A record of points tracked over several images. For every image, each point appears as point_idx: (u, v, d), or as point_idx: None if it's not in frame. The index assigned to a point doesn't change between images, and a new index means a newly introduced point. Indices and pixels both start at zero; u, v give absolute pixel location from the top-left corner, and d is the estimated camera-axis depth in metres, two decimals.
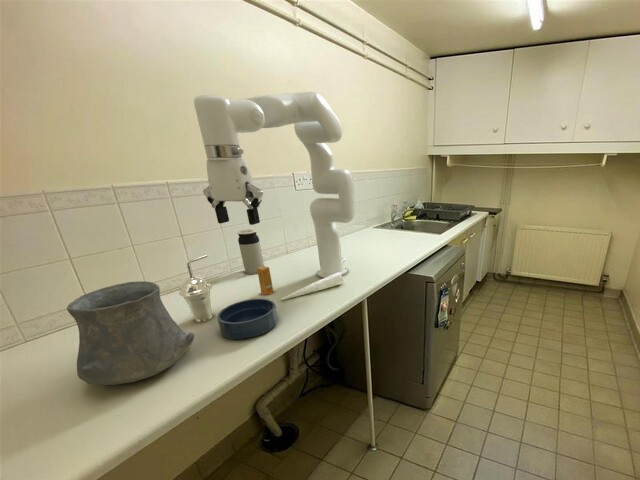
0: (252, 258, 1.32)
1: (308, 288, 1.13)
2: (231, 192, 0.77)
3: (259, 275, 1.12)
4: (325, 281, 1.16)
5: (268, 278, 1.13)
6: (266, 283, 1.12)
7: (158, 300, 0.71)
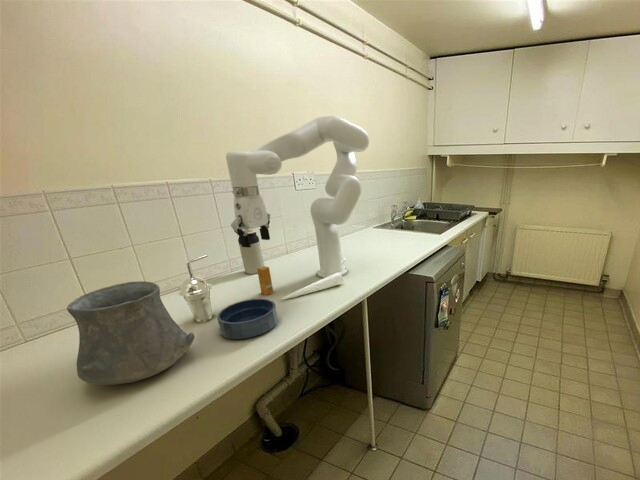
0: (252, 258, 1.32)
1: (308, 288, 1.13)
2: None
3: (259, 275, 1.12)
4: (325, 281, 1.16)
5: (268, 278, 1.13)
6: (266, 283, 1.12)
7: (158, 300, 0.71)
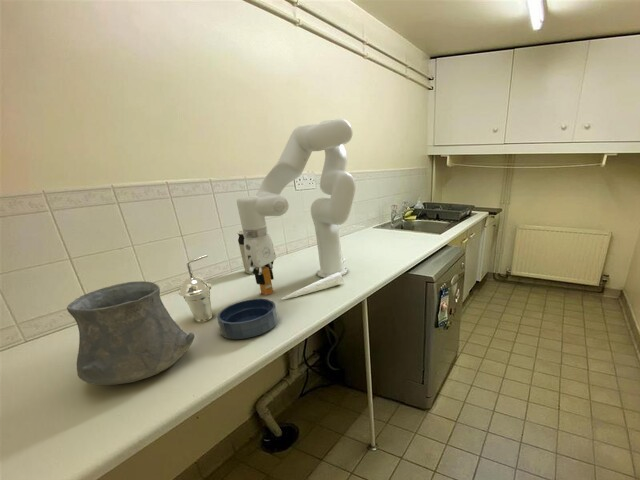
0: None
1: (308, 288, 1.13)
2: None
3: None
4: (325, 281, 1.16)
5: (268, 278, 1.13)
6: (265, 283, 1.12)
7: (158, 300, 0.71)
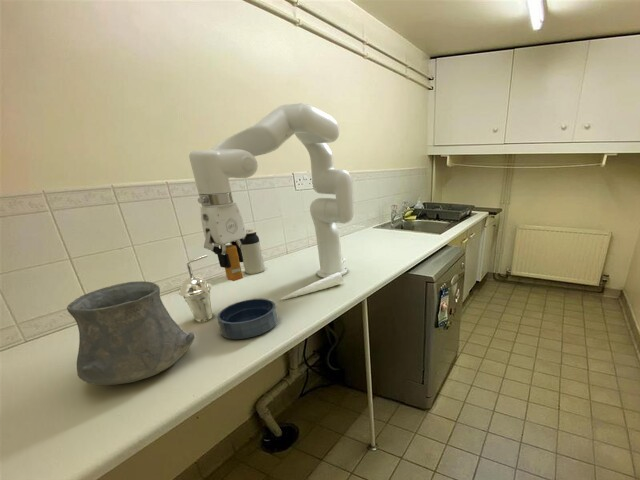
0: (252, 258, 1.32)
1: (308, 288, 1.13)
2: None
3: None
4: (325, 281, 1.17)
5: (235, 260, 0.88)
6: (232, 266, 0.88)
7: (158, 300, 0.71)
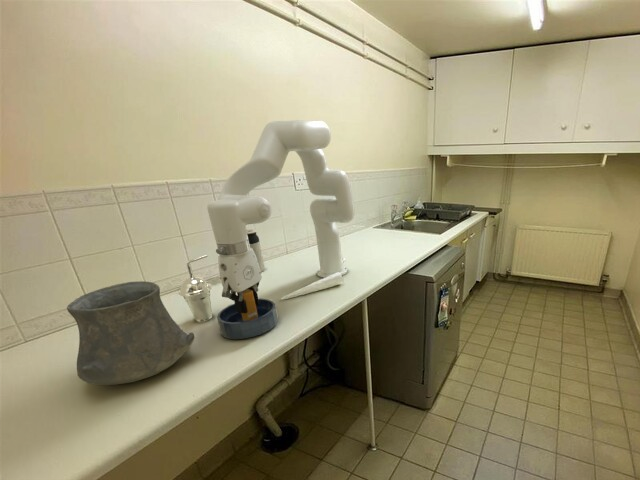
0: None
1: (308, 288, 1.13)
2: None
3: None
4: (325, 281, 1.17)
5: (251, 304, 0.88)
6: (248, 311, 0.88)
7: (158, 300, 0.71)
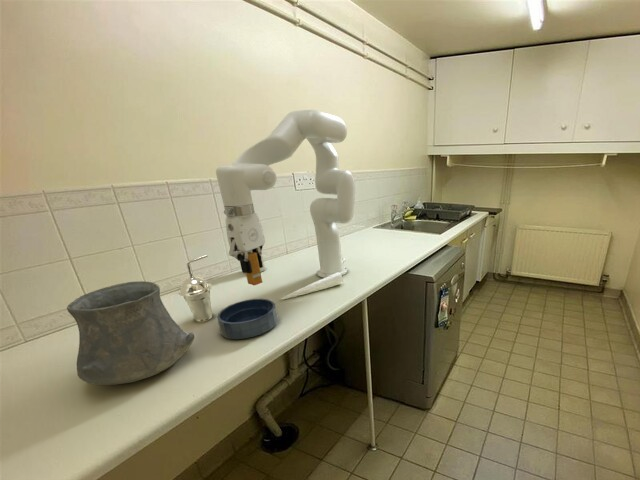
0: None
1: (308, 288, 1.13)
2: None
3: None
4: (325, 281, 1.17)
5: (256, 265, 0.95)
6: (253, 271, 0.95)
7: (158, 300, 0.71)
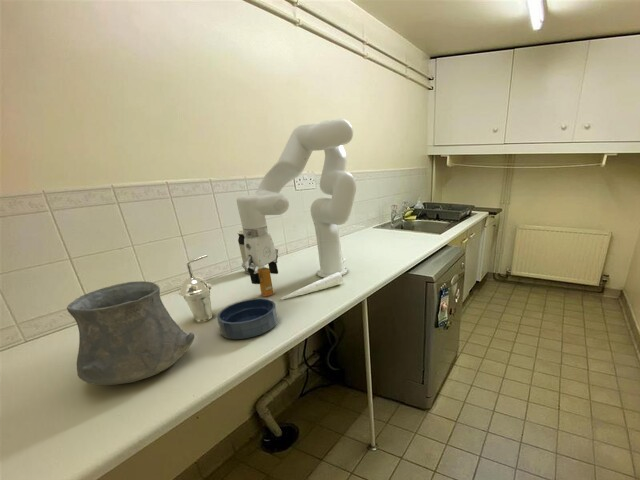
0: None
1: (308, 288, 1.13)
2: None
3: (259, 276, 1.11)
4: (325, 281, 1.17)
5: (268, 279, 1.12)
6: (266, 284, 1.11)
7: (158, 300, 0.71)
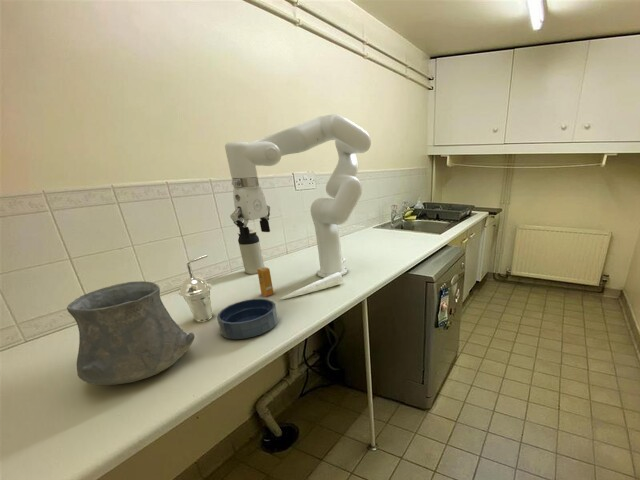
0: (252, 258, 1.32)
1: (308, 288, 1.13)
2: None
3: (259, 276, 1.11)
4: (325, 281, 1.17)
5: (268, 279, 1.12)
6: (266, 284, 1.11)
7: (158, 300, 0.71)
